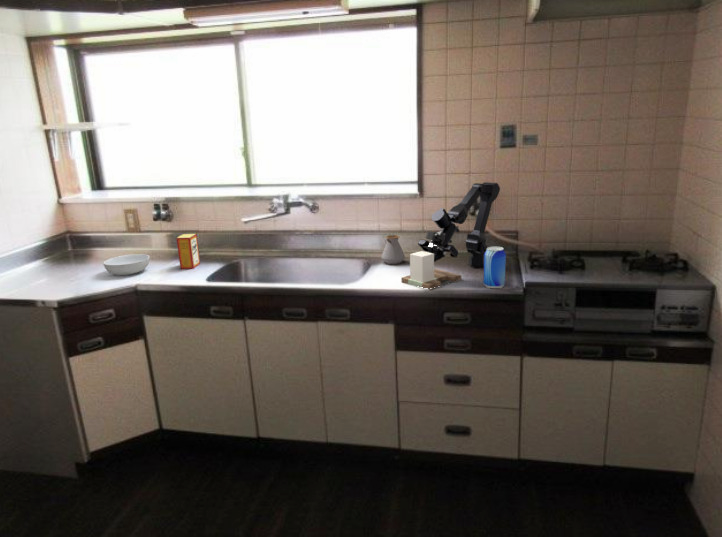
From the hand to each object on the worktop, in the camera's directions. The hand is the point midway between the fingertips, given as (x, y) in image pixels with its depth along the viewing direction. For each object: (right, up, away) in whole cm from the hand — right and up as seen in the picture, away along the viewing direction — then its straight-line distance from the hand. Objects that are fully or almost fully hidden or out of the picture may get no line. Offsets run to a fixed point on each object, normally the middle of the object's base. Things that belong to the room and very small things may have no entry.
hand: (428, 264), depth 224 cm
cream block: (-3, -6, -1) cm, 7 cm away
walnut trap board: (+2, -7, +3) cm, 8 cm away
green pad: (-2, -8, 0) cm, 8 cm away
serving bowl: (-142, -4, +35) cm, 146 cm away
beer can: (+26, -9, -7) cm, 28 cm away
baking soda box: (-114, -1, +42) cm, 122 cm away
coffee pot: (-14, 0, +31) cm, 34 cm away
